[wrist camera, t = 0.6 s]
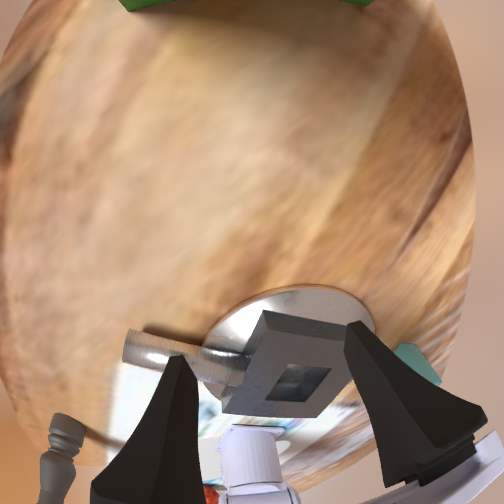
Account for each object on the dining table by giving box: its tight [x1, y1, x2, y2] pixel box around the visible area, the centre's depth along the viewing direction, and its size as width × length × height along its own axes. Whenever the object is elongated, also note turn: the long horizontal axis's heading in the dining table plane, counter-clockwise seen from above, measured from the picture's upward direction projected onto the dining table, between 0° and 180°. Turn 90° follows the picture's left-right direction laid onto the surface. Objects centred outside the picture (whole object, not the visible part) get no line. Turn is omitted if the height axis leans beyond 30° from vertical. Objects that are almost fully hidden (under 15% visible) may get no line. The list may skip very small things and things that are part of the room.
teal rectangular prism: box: [394, 343, 442, 386], centre depth 26 cm, size 4×3×7 cm
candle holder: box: [37, 413, 86, 504], centre depth 18 cm, size 6×6×25 cm
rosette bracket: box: [122, 284, 375, 418], centre depth 23 cm, size 18×24×4 cm
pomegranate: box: [203, 484, 220, 504], centre depth 42 cm, size 7×7×10 cm
